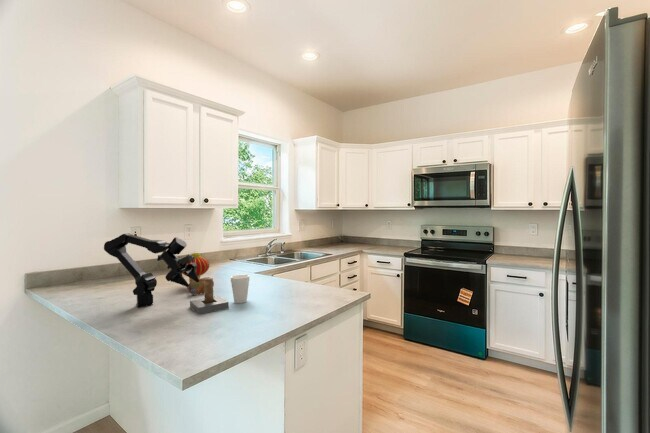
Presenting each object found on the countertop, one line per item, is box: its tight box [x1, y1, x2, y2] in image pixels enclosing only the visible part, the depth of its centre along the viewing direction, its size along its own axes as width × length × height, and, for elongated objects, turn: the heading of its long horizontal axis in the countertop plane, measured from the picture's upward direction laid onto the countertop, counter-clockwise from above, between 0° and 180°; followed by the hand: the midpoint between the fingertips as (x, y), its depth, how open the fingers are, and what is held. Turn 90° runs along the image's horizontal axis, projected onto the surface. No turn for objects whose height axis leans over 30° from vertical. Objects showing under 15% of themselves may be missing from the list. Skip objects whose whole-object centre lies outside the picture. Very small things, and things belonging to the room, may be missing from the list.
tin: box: [187, 276, 215, 296], centre depth 179 cm, size 15×3×8 cm, turn 143°
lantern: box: [182, 252, 210, 284], centre depth 195 cm, size 17×17×30 cm
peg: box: [203, 277, 214, 304], centre depth 152 cm, size 4×4×14 cm
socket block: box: [189, 295, 230, 315], centre depth 152 cm, size 14×14×3 cm
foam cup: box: [230, 273, 250, 304], centre depth 162 cm, size 10×9×13 cm
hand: (193, 283), depth 153 cm, fingers open, 9 cm apart
